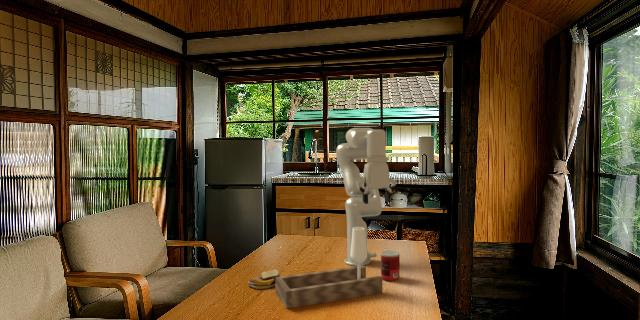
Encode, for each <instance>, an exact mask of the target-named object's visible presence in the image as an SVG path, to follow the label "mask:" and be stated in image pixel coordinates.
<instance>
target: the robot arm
mask: <svg viewBox="0 0 640 320" xmlns="http://www.w3.org/2000/svg"><path fill="white" fill-rule="evenodd" d="M386 135H387V134H386V130H384V129H373V128H371V127H353V128H350V129H349V130H348V131H346V132H345V139H346V142H345V143H341V144H339V145H337V147H336V149H335V154H336V155H335V156H336V160H337V163H338V166H339V168H340V170H341V172H342V176H343V183H344V184H343V185H344V189H345V192H346V195H347V196H349V198H347V199H346V200H345V203H344V208H345V209H344V210H345V214H346V215H345V216H346V227H347V229H346V230H347V233H346V234H347V237H346V238H347V239H346V241H347V242H346V243H347V257H346V258H344V263H345V264H346V265H349V266H352V267H357V264H356V263H355V262H354V261H353V260H352V258H351V256H350V254H351V242H352V230H353V228H354V227H363V228H365V237H366V247H367V248H368V226H367V223H366V222H365V221H364V219H363V218H365V217H377V216H379V215H381V213H382V209H383V208H382V207H383V206H382V201H381V195H380V191H379V189H381V190H382V189H384V190H385V192H384V202H385V203H388V204H389V203H391V200H392V197H391V196H392V193H393V190H394V189H395V188H396V187H395V186H396V185H397V181H396V180H394V179H393V178H391V177H390V170H389V166H388V163H387V161H389V159H390V157H388V156H387V155H386V154H387V150H386V149H387V146H386V145H387V144H386V143H387V142H386V140H387V139H386V138H387V137H386ZM351 160H352V161H351ZM353 160H358V161H359V160H366V163H365V164H364V168H363V174H362V175H363V176H361V173H360V169H359V167H358V166H357V165H356V164H355V163H354V162H353ZM390 184H391V185H390ZM377 256H378V255H377V253H376V252H371V251H370V252H369V251H367V258H366V260H365V261H364V262H363V263H362V264H360V266H367V265H369V264H371V261H372V260H371V258H376V257H377Z"/></svg>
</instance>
